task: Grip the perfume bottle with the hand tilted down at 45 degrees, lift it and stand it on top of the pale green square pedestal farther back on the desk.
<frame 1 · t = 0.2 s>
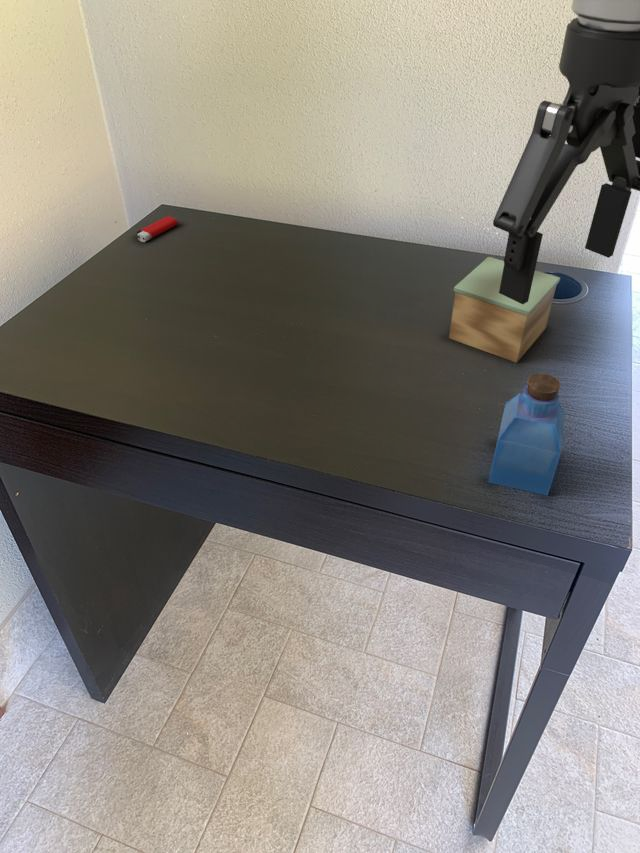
hand: (557, 273, 65), 21 cm above the table, tool pointing down, fingers open, 13 cm apart
perfume bottle: (520, 470, 75), on the table
pale green square pedestal: (497, 333, 95), on the table
lighter: (156, 233, 120), on the table
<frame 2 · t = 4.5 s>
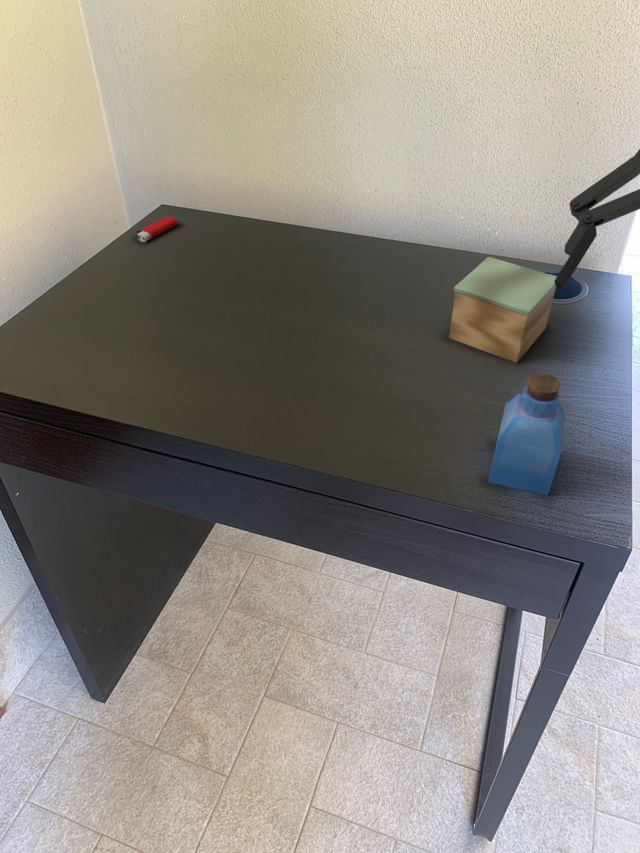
hand: (618, 316, 69), 16 cm above the table, tool tilted 40°, fingers open, 13 cm apart
nothing on the table moved.
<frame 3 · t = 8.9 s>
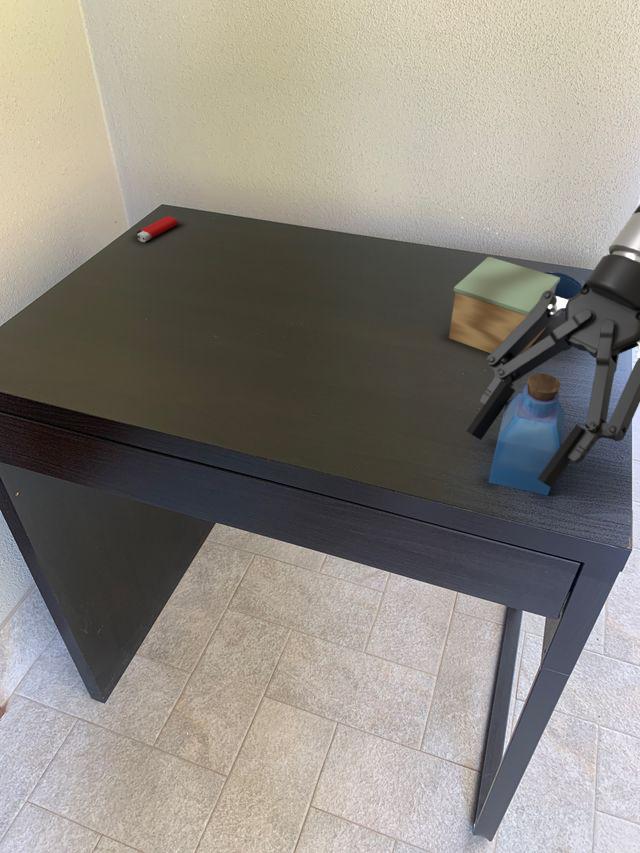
hand: (507, 458, 71), 4 cm above the table, tool tilted 45°, fingers closed on perfume bottle, 8 cm apart
perfume bottle: (520, 470, 75), on the table, touching gripper
everything else where it was.
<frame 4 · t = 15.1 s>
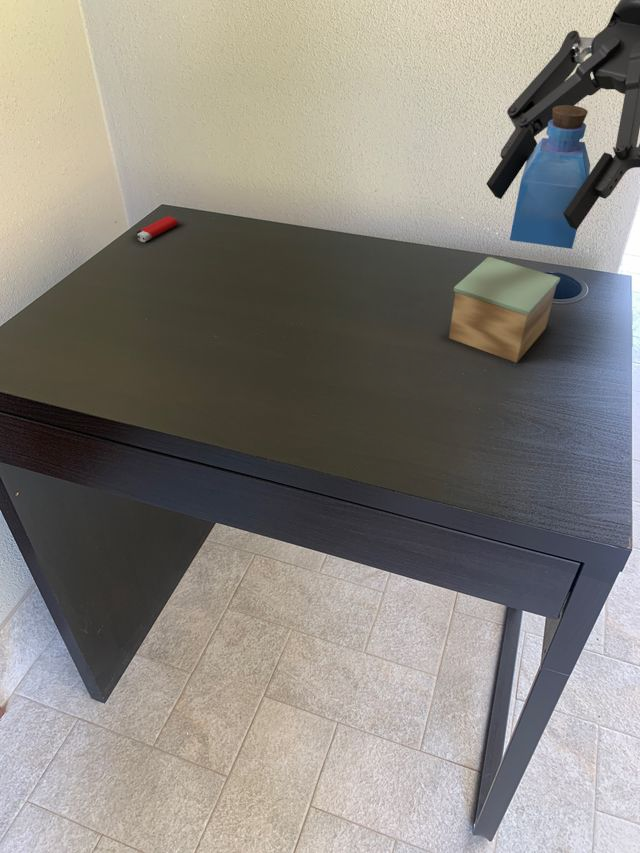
hand: (530, 205, 67), 25 cm above the table, tool tilted 45°, fingers closed on perfume bottle, 8 cm apart
perfume bottle: (542, 233, 72), point 21 cm above the table, touching gripper
everything else where it was.
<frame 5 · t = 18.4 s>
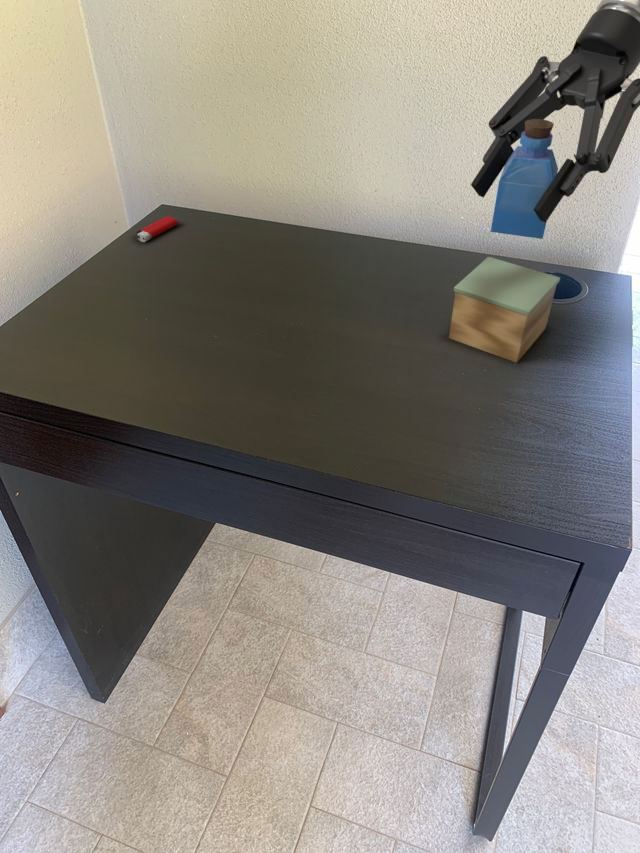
hand: (507, 203, 81), 20 cm above the table, tool tilted 45°, fingers closed on perfume bottle, 8 cm apart
perfume bottle: (518, 226, 85), point 16 cm above the table, touching gripper
everything else where it was.
when the fingers open (12 cm above the table, at t = 21.1 s): perfume bottle stays where it is, resting on pale green square pedestal.
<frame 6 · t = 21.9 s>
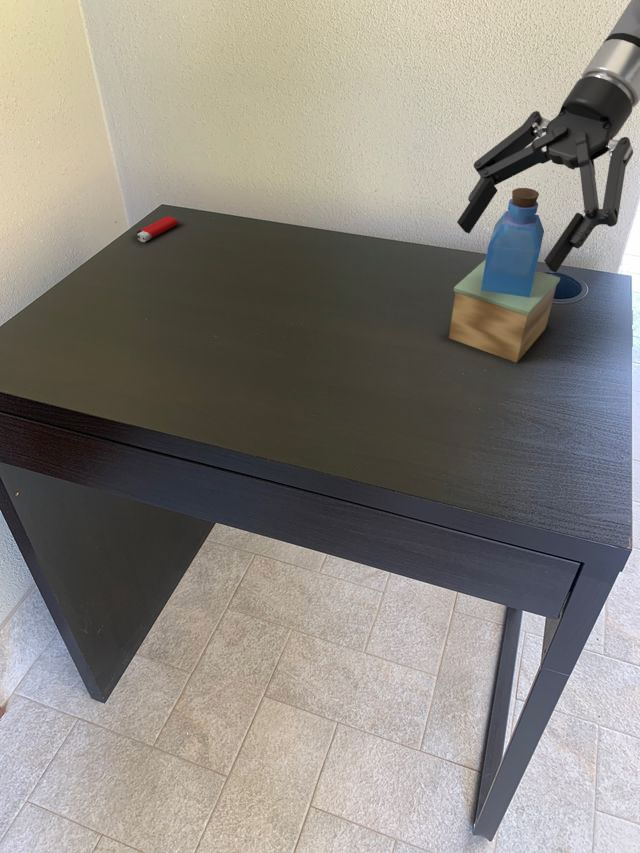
hand: (504, 246, 85), 14 cm above the table, tool tilted 45°, fingers open, 13 cm apart
perfume bottle: (507, 283, 90), point 8 cm above the table, touching pale green square pedestal
everything else where it was.
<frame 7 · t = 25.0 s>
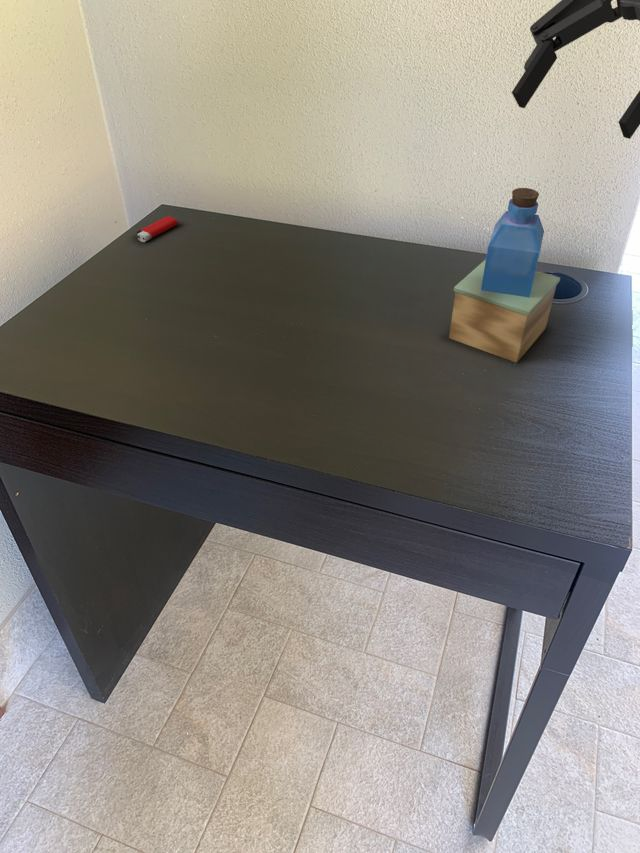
hand: (568, 115, 74), 29 cm above the table, tool tilted 45°, fingers open, 13 cm apart
nothing on the table moved.
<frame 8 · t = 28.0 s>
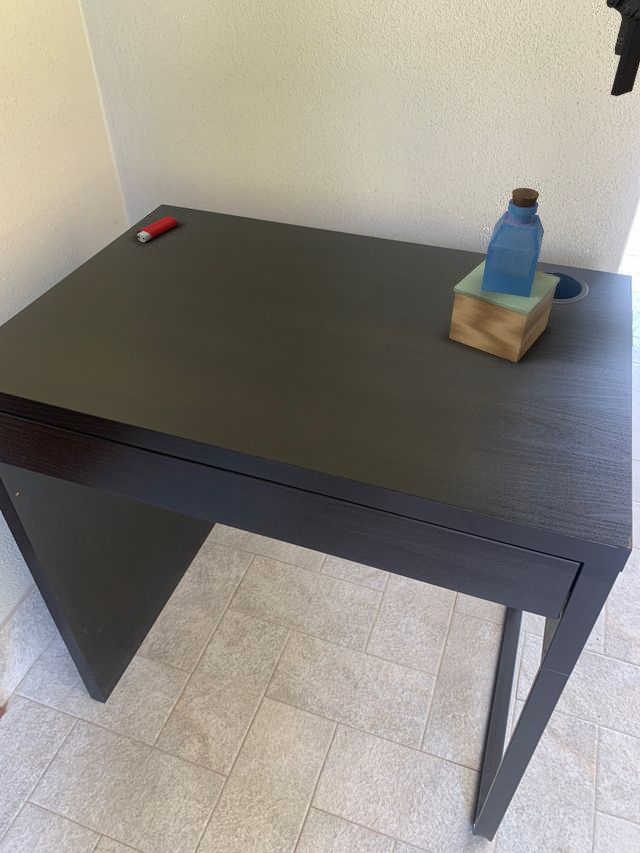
nothing on the table moved.
at the end: perfume bottle inside the target area on the pale green square pedestal (0.1 cm from its centre), point 7.8 cm above the pale green square pedestal's base; perfume bottle tilted 0°; the gripper is holding nothing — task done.
